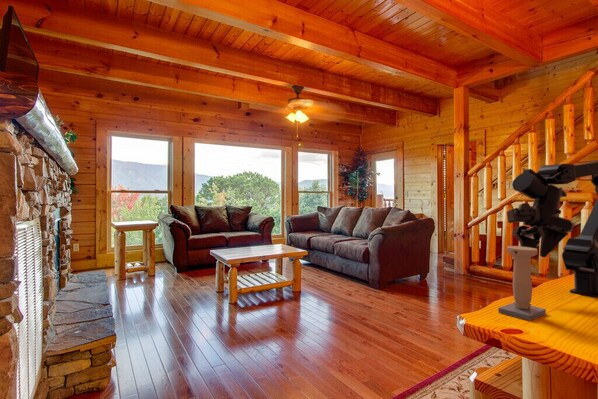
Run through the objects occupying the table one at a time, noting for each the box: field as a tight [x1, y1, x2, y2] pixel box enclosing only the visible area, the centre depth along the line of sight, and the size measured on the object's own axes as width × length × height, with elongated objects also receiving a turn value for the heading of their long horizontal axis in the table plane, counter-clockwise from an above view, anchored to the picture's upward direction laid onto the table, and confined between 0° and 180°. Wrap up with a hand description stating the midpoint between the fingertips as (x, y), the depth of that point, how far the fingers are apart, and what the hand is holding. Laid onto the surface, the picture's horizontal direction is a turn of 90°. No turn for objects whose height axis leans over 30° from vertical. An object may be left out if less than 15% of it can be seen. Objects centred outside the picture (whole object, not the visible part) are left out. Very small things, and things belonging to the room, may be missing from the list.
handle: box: [506, 245, 538, 310], centre depth 81 cm, size 5×6×15 cm
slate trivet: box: [497, 302, 547, 322], centre depth 81 cm, size 8×7×1 cm
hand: (533, 258), depth 88 cm, fingers open, 9 cm apart
